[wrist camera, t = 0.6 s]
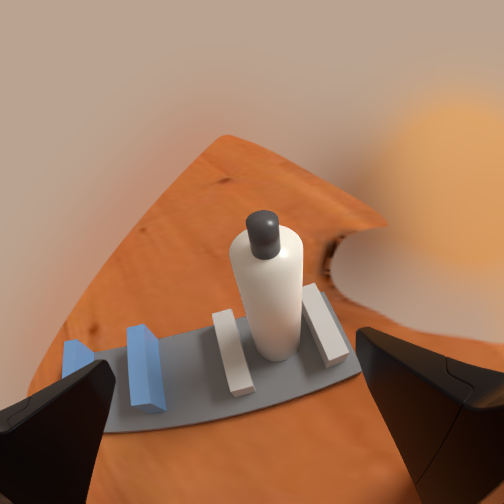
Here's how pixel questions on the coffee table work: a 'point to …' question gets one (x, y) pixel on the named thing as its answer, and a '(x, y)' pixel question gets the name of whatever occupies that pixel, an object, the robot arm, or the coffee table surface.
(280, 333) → the bottle
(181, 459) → the coffee table surface
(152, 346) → the slotted divider tray
